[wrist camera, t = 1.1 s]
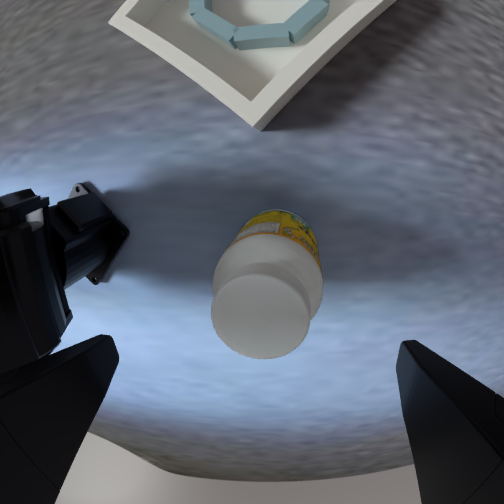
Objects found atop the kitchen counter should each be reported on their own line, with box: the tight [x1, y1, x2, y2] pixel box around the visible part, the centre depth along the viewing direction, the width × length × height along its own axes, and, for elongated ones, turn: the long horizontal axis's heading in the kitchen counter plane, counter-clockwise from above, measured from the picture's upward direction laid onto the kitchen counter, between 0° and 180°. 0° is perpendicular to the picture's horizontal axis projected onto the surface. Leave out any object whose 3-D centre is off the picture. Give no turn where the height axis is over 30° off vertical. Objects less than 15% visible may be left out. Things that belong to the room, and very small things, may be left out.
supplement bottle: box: [211, 209, 323, 359], centre depth 16 cm, size 5×5×10 cm
